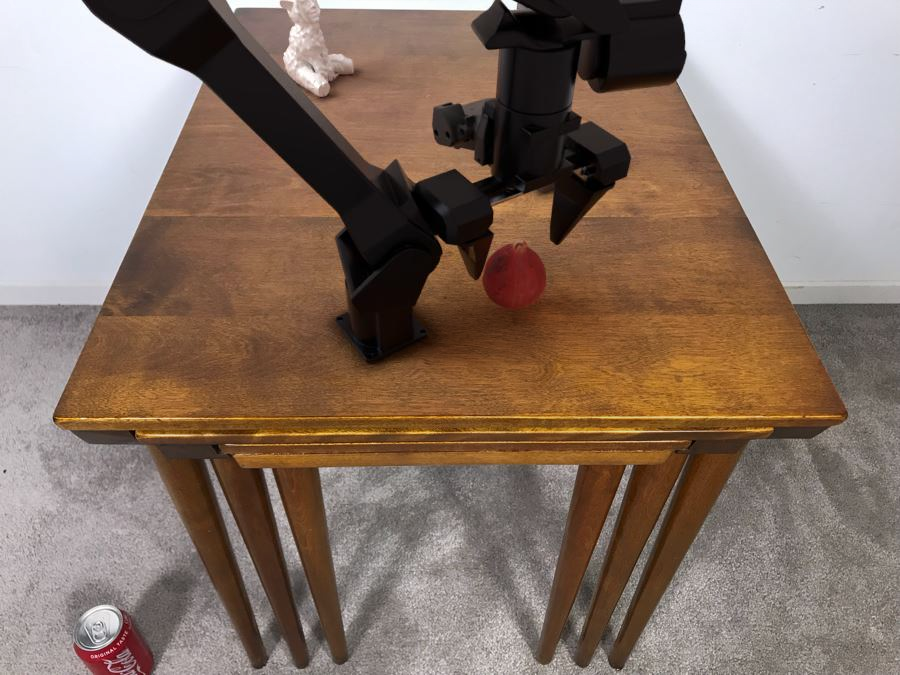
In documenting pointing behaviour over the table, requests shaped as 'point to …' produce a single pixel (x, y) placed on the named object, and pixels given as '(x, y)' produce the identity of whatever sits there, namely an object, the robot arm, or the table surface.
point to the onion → (514, 276)
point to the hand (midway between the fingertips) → (515, 259)
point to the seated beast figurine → (311, 49)
